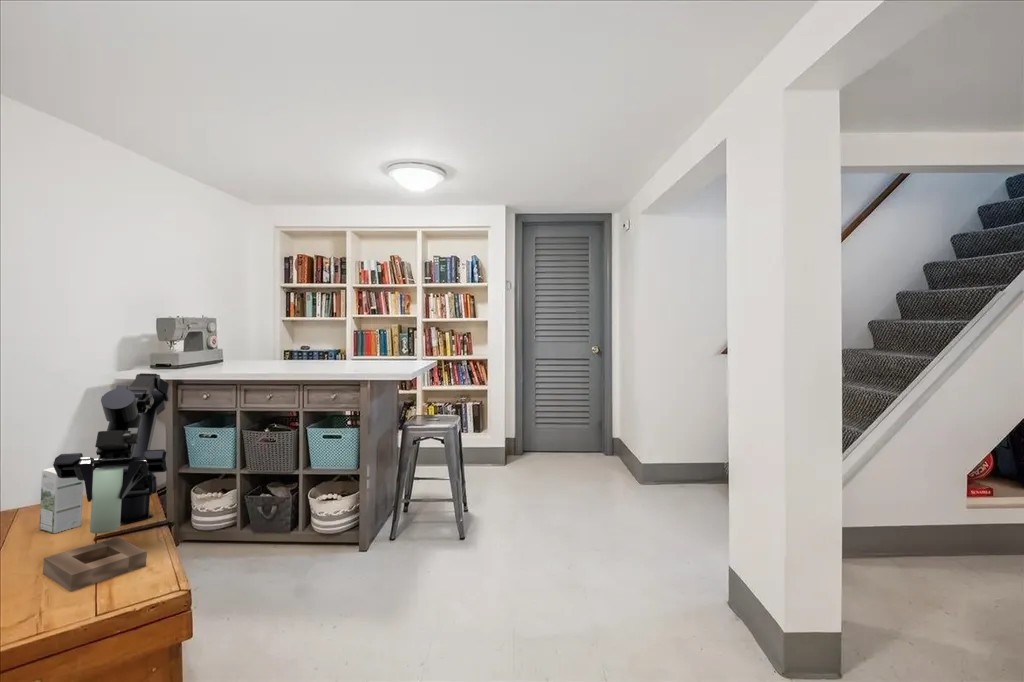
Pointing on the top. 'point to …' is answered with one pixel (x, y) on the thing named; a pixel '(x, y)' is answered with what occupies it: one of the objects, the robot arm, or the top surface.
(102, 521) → the peg
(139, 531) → the top surface
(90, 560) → the pocket block
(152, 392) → the robot arm
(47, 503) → the syrup box
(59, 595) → the top surface
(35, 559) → the top surface
